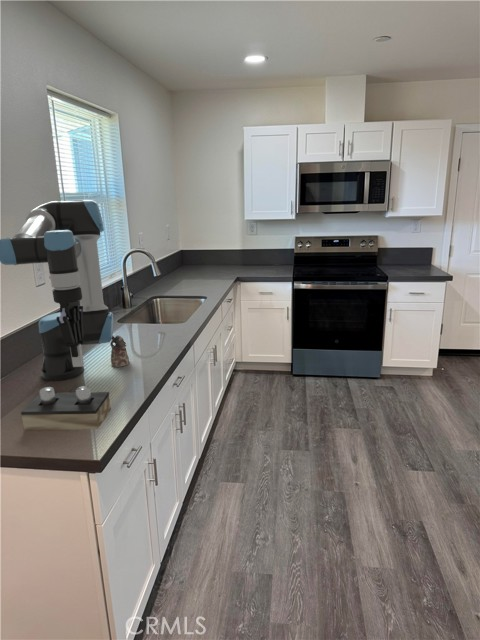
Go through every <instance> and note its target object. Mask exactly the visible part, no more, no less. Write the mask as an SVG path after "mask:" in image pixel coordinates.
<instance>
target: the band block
mask: <svg viewBox="0 0 480 640" xmlns="http://www.w3.org/2000/svg"><path fill="white" fill-rule="evenodd" d="M90 393H91V400H92V402H91V403H90V404H89V405H78V402H77V396H76V392H55V398H56V403H55V404H54V405H45V406H42V402H41V397H40V393H39V394H38V395H37V396H36V397H35V398H34V399H33V400H31V402H30V403H29V404H27V406H25V407H24V408H23V409H22V410H21V411H20V415H21V420H22V423H23V425H22V426H23V429H24V431H49V430H50V431H51V430H52V431H57V430H58V431H59V430H60V431H61V430H66V431H67V430H99V429H100V427H101V425H102V423H103V422H104V421H105V419H106V418H107V416H108V415H109V413H110V411H111V410H112V405H111V404H112V403H111V397H110V391H97V392H96V391H93V392H91V391H90Z"/></svg>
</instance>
